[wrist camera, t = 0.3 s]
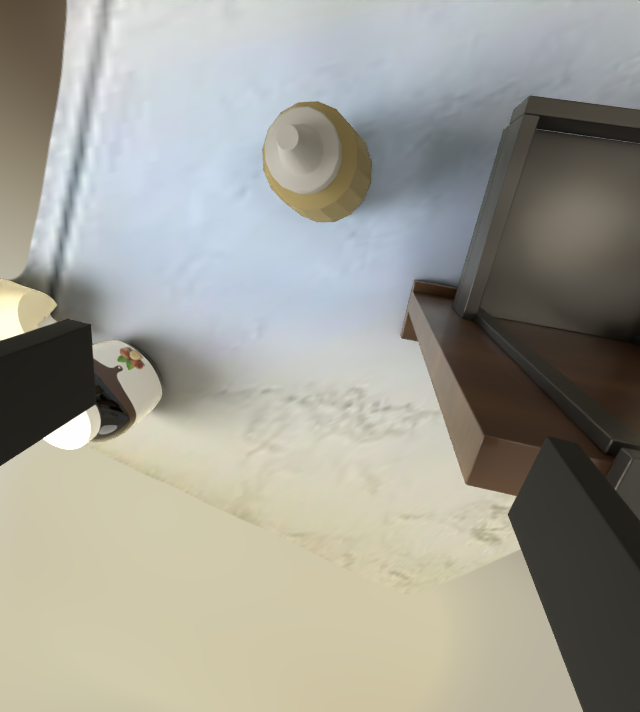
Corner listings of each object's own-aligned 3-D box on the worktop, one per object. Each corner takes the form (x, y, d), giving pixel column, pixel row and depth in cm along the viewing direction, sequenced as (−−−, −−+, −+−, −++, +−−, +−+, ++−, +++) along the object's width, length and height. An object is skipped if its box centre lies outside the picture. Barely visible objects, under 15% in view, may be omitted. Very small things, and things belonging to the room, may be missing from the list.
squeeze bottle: (274, 192, 37) (186, 165, 20) (318, 111, 34) (258, -1, 17) (341, 239, 37) (310, 252, 20) (390, 163, 34) (401, 105, 17)
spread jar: (180, 390, 46) (119, 441, 35) (122, 430, 50) (50, 487, 39) (115, 311, 44) (28, 340, 33) (59, 359, 47) (-36, 399, 36)
